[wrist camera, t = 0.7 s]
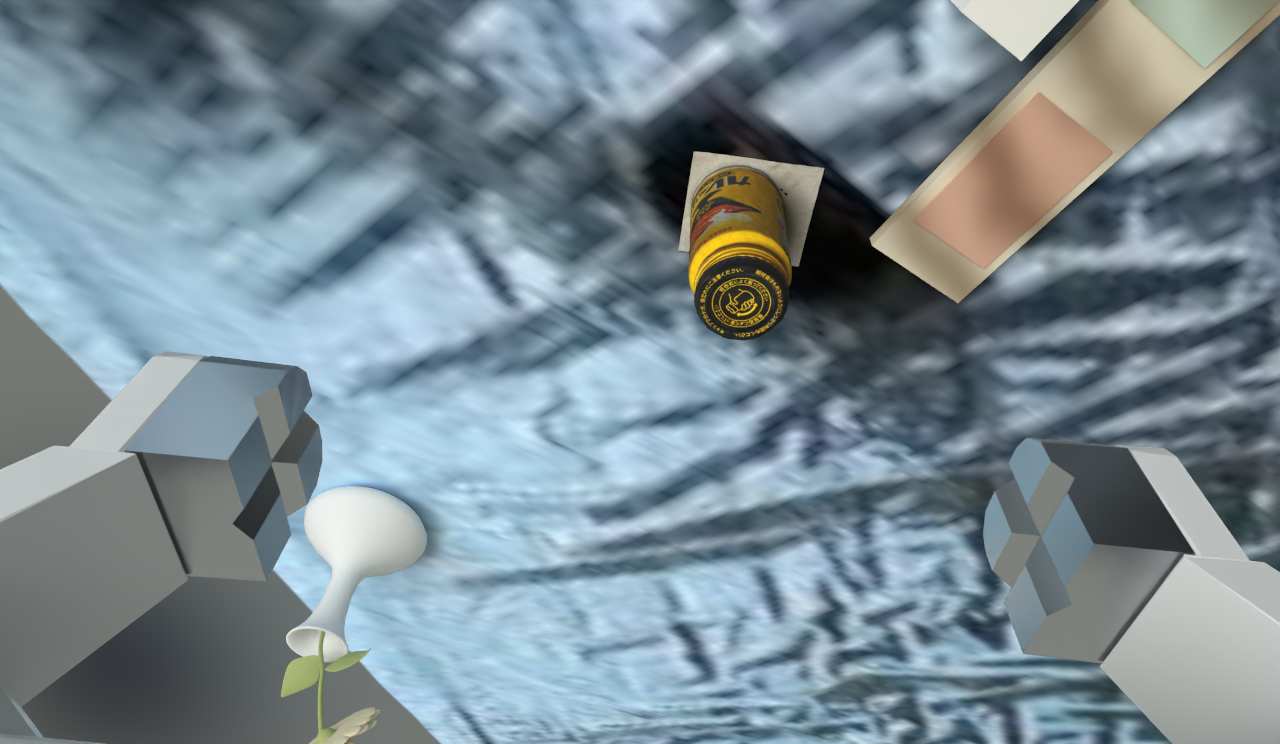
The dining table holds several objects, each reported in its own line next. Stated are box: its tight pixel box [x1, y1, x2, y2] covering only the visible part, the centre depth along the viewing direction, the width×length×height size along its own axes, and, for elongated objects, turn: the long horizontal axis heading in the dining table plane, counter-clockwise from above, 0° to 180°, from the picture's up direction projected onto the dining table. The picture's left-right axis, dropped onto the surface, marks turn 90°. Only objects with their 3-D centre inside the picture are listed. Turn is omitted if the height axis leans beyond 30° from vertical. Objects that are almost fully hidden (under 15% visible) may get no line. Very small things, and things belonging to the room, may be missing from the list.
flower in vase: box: [281, 486, 427, 744], centre depth 66 cm, size 13×11×25 cm
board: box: [870, 0, 1280, 303], centre depth 46 cm, size 32×8×1 cm, turn 147°
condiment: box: [679, 152, 824, 340], centre depth 49 cm, size 7×8×12 cm
